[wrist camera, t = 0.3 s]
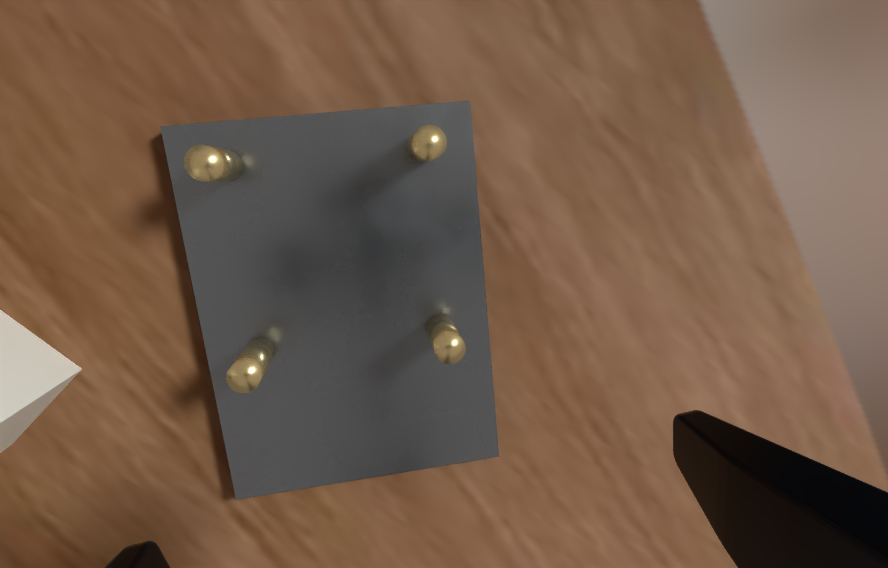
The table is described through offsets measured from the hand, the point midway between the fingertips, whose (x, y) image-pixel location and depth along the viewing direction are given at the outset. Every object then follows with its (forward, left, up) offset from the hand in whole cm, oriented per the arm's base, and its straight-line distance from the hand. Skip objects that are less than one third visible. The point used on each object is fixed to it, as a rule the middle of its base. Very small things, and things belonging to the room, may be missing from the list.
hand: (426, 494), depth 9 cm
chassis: (-1, +1, -15) cm, 15 cm away
